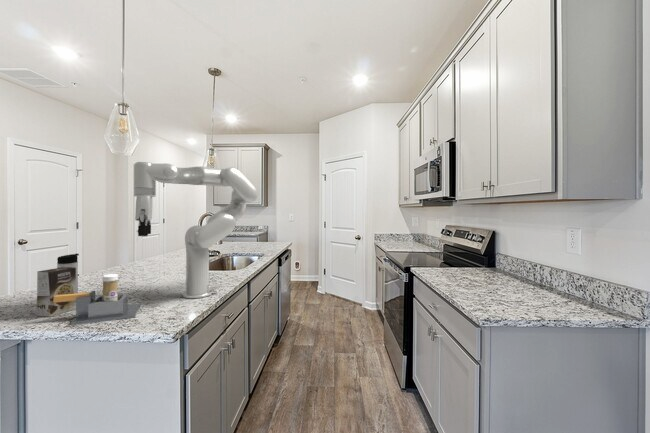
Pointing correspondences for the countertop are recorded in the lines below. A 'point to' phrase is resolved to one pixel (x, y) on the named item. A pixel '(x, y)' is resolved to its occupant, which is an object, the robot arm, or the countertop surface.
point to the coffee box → (55, 290)
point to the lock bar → (73, 296)
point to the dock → (104, 309)
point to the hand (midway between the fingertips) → (144, 234)
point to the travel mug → (69, 264)
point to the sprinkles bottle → (109, 287)
